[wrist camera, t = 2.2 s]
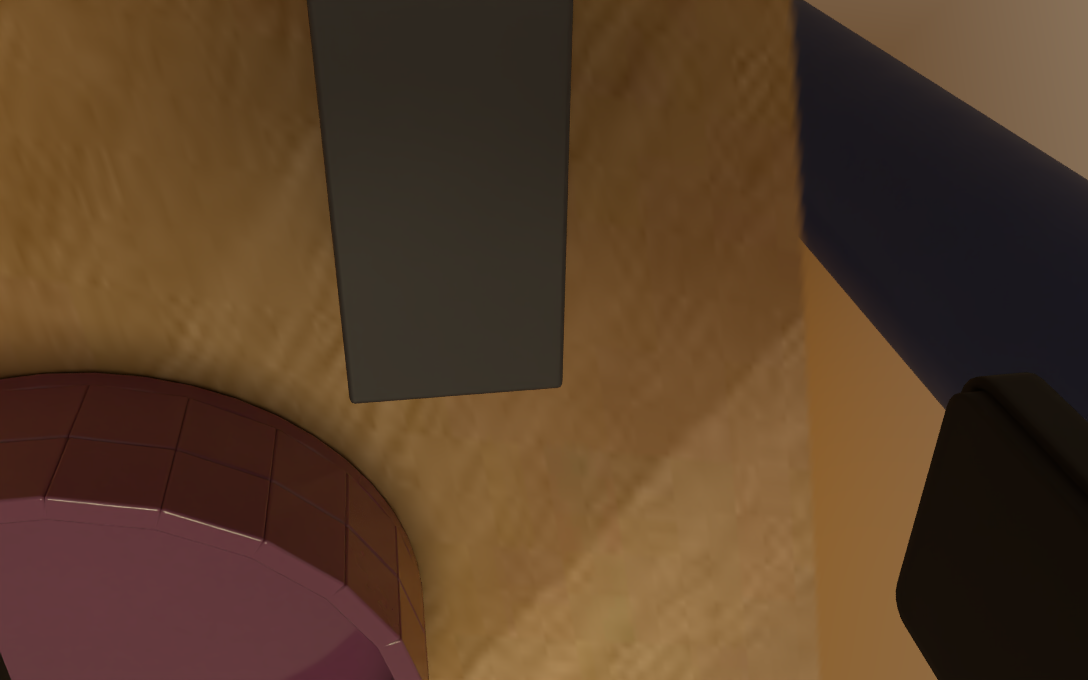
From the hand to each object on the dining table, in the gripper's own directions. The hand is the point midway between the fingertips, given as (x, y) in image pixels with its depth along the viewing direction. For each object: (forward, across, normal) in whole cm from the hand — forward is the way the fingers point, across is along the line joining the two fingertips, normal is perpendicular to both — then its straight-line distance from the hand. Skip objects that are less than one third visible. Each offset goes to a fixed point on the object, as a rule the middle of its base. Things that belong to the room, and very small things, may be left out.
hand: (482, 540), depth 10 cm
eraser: (+13, 0, 0) cm, 13 cm away
